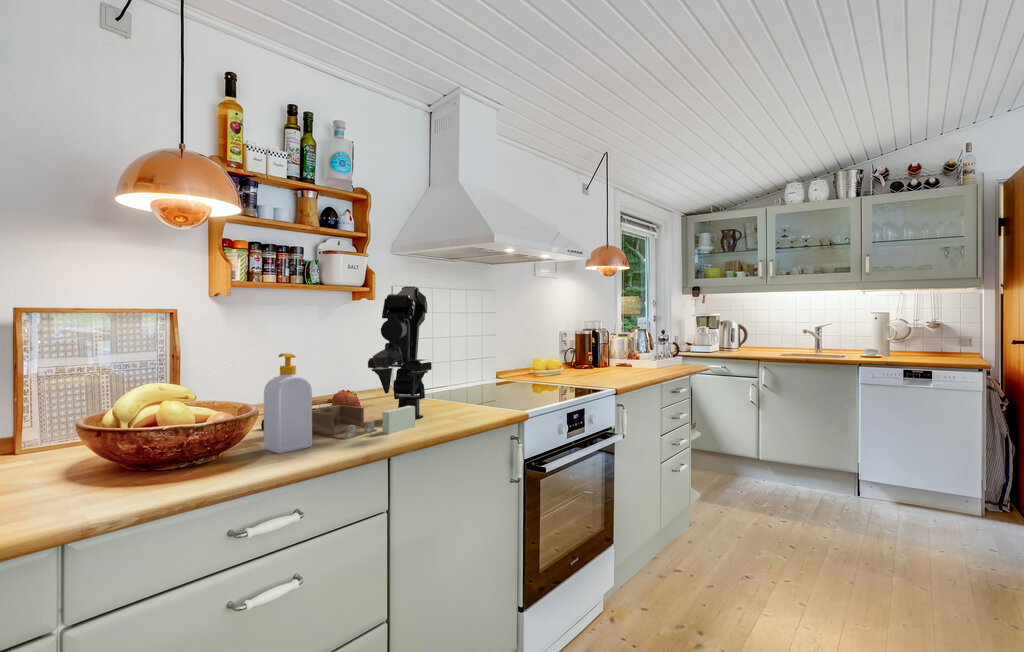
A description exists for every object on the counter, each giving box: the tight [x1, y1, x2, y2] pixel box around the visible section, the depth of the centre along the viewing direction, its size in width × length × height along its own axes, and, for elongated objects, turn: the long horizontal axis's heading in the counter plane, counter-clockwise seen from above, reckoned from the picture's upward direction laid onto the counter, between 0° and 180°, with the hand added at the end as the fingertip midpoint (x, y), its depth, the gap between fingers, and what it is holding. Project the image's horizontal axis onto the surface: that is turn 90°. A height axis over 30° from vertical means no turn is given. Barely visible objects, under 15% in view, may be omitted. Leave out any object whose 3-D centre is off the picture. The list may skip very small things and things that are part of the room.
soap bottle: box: [263, 352, 313, 455], centre depth 128 cm, size 9×7×23 cm
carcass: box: [312, 405, 378, 441], centre depth 146 cm, size 12×14×6 cm
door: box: [381, 406, 416, 435], centre depth 149 cm, size 11×2×6 cm, turn 151°
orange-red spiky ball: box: [331, 391, 360, 407], centre depth 167 cm, size 8×8×8 cm
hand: (399, 394), depth 149 cm, fingers open, 9 cm apart
